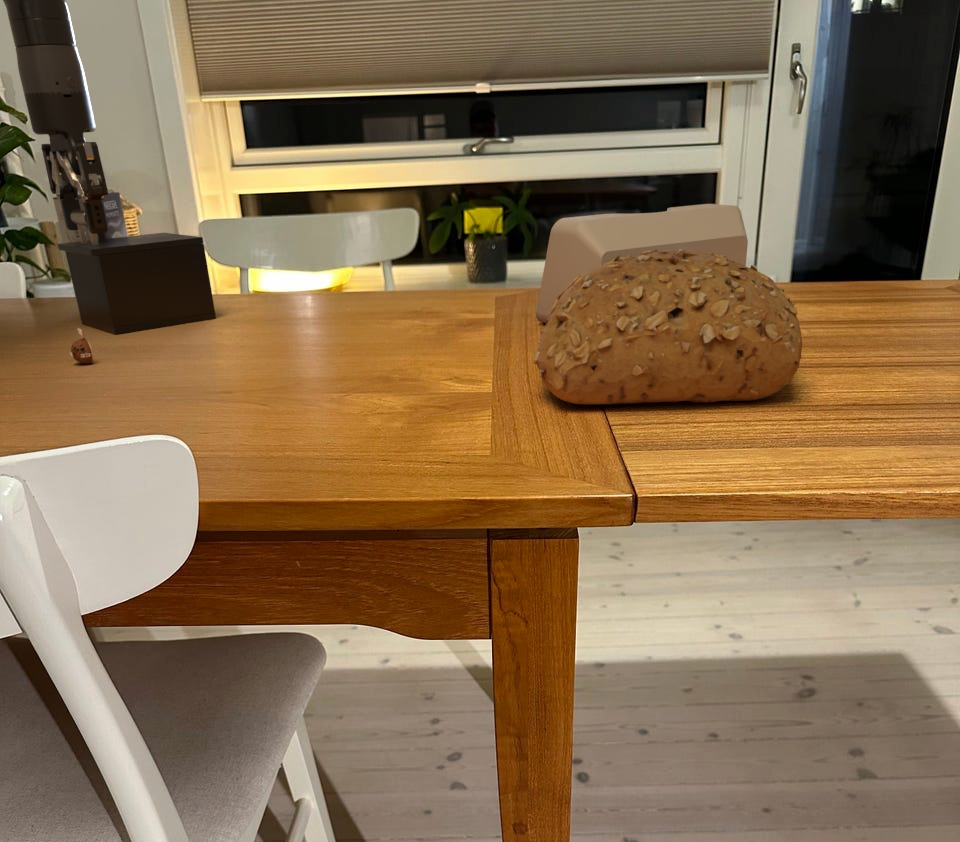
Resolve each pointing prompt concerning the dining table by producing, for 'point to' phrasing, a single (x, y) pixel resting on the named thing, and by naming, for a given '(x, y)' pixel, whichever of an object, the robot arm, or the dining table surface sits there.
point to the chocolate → (82, 350)
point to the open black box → (142, 288)
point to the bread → (669, 332)
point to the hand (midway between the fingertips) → (87, 231)
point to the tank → (636, 241)
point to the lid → (121, 240)
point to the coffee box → (112, 216)
